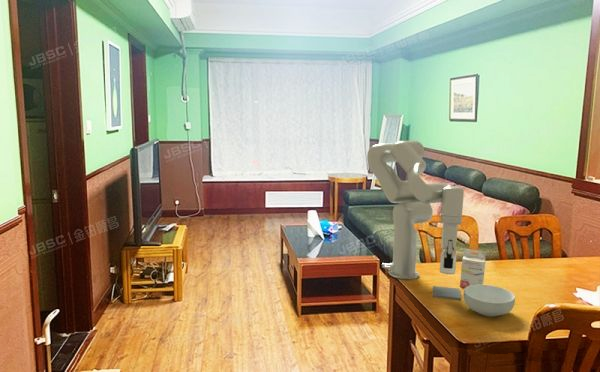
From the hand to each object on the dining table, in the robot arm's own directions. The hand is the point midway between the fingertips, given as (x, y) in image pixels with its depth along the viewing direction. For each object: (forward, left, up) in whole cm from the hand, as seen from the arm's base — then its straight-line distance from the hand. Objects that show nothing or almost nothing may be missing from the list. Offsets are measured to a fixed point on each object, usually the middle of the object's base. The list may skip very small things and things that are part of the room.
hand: (447, 265), depth 178 cm
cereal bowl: (+14, -13, -11) cm, 22 cm away
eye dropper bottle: (0, 0, -3) cm, 3 cm away
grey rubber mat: (0, 0, -11) cm, 11 cm away
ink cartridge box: (+10, +11, -11) cm, 19 cm away
